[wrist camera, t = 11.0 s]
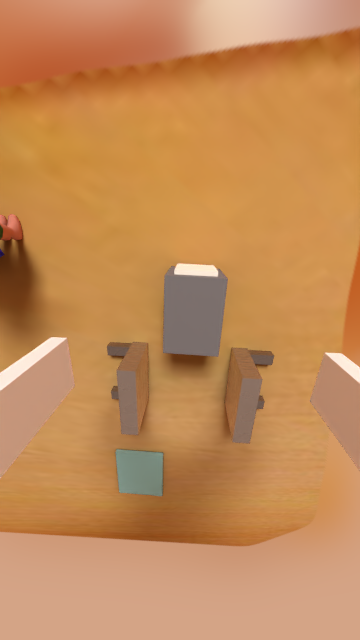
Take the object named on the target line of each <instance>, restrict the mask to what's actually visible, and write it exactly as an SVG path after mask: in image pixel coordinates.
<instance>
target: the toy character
mask: <svg viewBox="0 0 360 640" xmlns="http://www.w3.org/2000/svg"><path fill="white" fill-rule="evenodd" d="M11 238H12V239H14V240H20V239H22V238H23V236H22V229H21V224H20V221H19V220H18V218H17V217H16V216H15V215H12V214H10V215H9V216H8V222H7V220H6V218H5V216H3V215H0V240H10V239H11Z"/></svg>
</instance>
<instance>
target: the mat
mask: <svg viewBox="0 0 360 640" xmlns="http://www.w3.org/2000/svg"><path fill="white" fill-rule="evenodd" d="M116 462H117V473H118V483H119V492H120V493H132V494H144V495H155V496H162V495H163V453H160V452H147V451H134V450H121V449H117V450H116Z"/></svg>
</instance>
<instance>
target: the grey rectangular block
mask: <svg viewBox="0 0 360 640" xmlns="http://www.w3.org/2000/svg"><path fill="white" fill-rule="evenodd" d="M227 281H228V279H227V277H226V276H225V275H224V274H223V273H222V271H221V270H220V269H216V268H215V267H214V265H196V264H177V266H176V267H174V266H171V268H170V269H169V270H168V272H167V273H166V274H165V284H164V335H163V353H173V354H187V355H202V356H217V357H218V355H219V347H220V339H221V330H222V322H223V314H224V306H225V297H226V289H227Z"/></svg>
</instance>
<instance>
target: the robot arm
mask: <svg viewBox="0 0 360 640" xmlns="http://www.w3.org/2000/svg"><path fill="white" fill-rule="evenodd" d="M74 386H75V384H74V378H73V372H72V365H71V359H70V353H69V347H68V341H67V338H58V337H51V338H50V339H48V340H47V341H45V342H44V343H42V344H41V345H40V346H38V347H37V348H35V349H34V350H32V351H31V352H30V353H28V354H27V355H25V356H24V357H22V358H21V359H20V360H18V361H17V362H15V363H14V364H12V365H11V366H10V367H8V368H7V369H5V370H4V371H2V372H1V373H0V478H1V477H2V476H3V475H4V473H5V472H6V471H7V470H8V468H9V467H10V466H11V465H12V463H13V462H14V461H15V460H16V458H17V457H18V456H19V455H20V453H21V452H22V451H23V450H24V448H25V447H26V446H27V445H28V443H29V442H30V441H31V440H32V438H33V437H34V436H35V435H36V433H37V432H38V431H39V430H40V428H41V427H42V426H43V425H44V423H45V422H46V421H47V420H48V418H49V417H50V416H51V415H52V413H53V412H54V411H55V410H56V408H57V407H58V406H59V405H60V403H61V402H62V401H63V400H64V399H65V397H66V396H67V395H68V394H69V392H70V391H71V390H72V389H73V387H74ZM310 402H311V404H312V405H313V406H314V408H315V409H316V410H317V412H318V413H319V415H320V416H321V417H322V419H323V420H324V422H325V423H326V424H327V426H328V427H329V429H330V430H331V431H332V433H333V434H334V436H335V437H336V438H337V440H338V441H339V443H340V444H341V445H342V447H343V448H344V449H345V451H346V452H347V454H348V455H349V456H350V458H351V459H352V461H353V462H354V464H355V465H356V466H357V468H358V469H359V470H360V368H359V367H358V366H357V365H356V364H354V363H353V362H352V361H350V360H349V359H348V358H346V357H345V356H344V355H343V354H339V353H324V356H323V359H322V363H321V366H320V369H319V372H318V376H317V379H316V382H315V386H314V389H313V392H312V396H311V399H310Z"/></svg>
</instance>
